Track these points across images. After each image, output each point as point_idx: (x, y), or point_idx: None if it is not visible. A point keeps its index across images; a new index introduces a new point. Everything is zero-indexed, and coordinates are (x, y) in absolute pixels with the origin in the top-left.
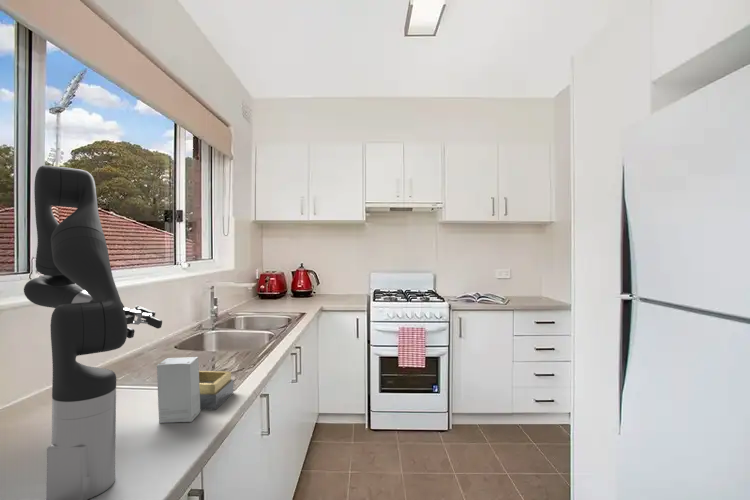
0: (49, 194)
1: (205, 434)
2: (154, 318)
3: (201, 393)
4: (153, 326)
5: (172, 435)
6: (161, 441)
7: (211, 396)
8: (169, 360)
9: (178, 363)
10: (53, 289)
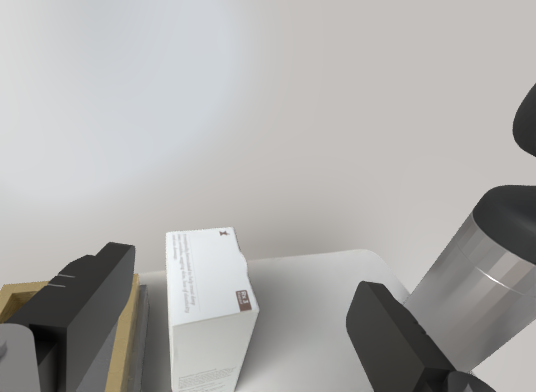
0: None
1: (254, 273)
2: (100, 277)
3: (136, 320)
4: (108, 334)
5: (274, 320)
6: (298, 324)
7: (145, 297)
8: (211, 293)
9: (238, 250)
10: None
